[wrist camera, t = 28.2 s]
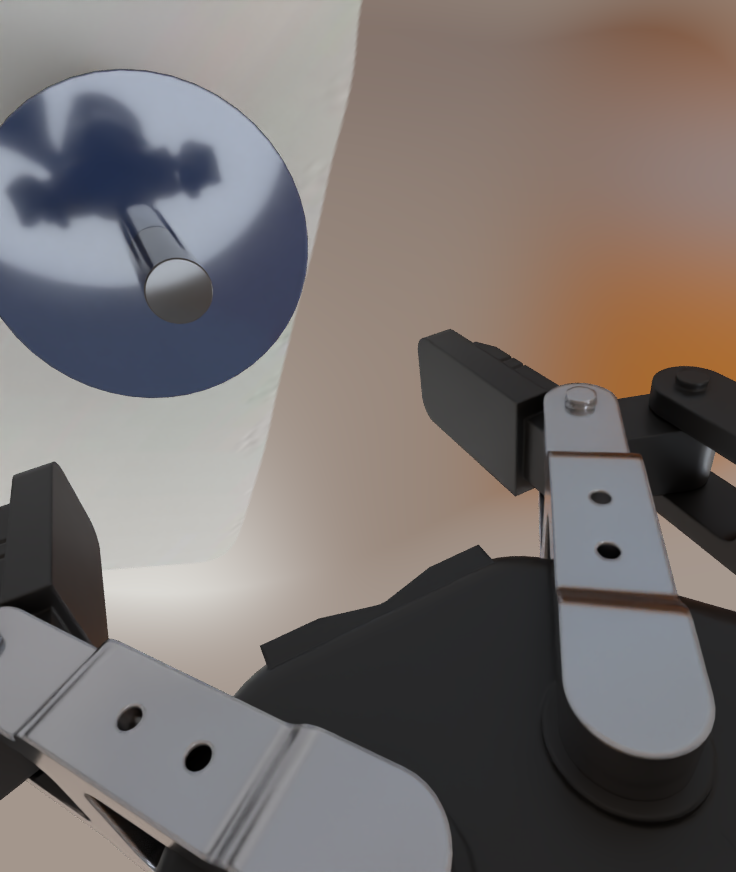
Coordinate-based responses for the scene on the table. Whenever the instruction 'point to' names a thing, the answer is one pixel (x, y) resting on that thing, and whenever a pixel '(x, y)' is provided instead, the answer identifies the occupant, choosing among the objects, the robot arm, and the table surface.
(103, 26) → the table surface
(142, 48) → the table surface
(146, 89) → the lid
